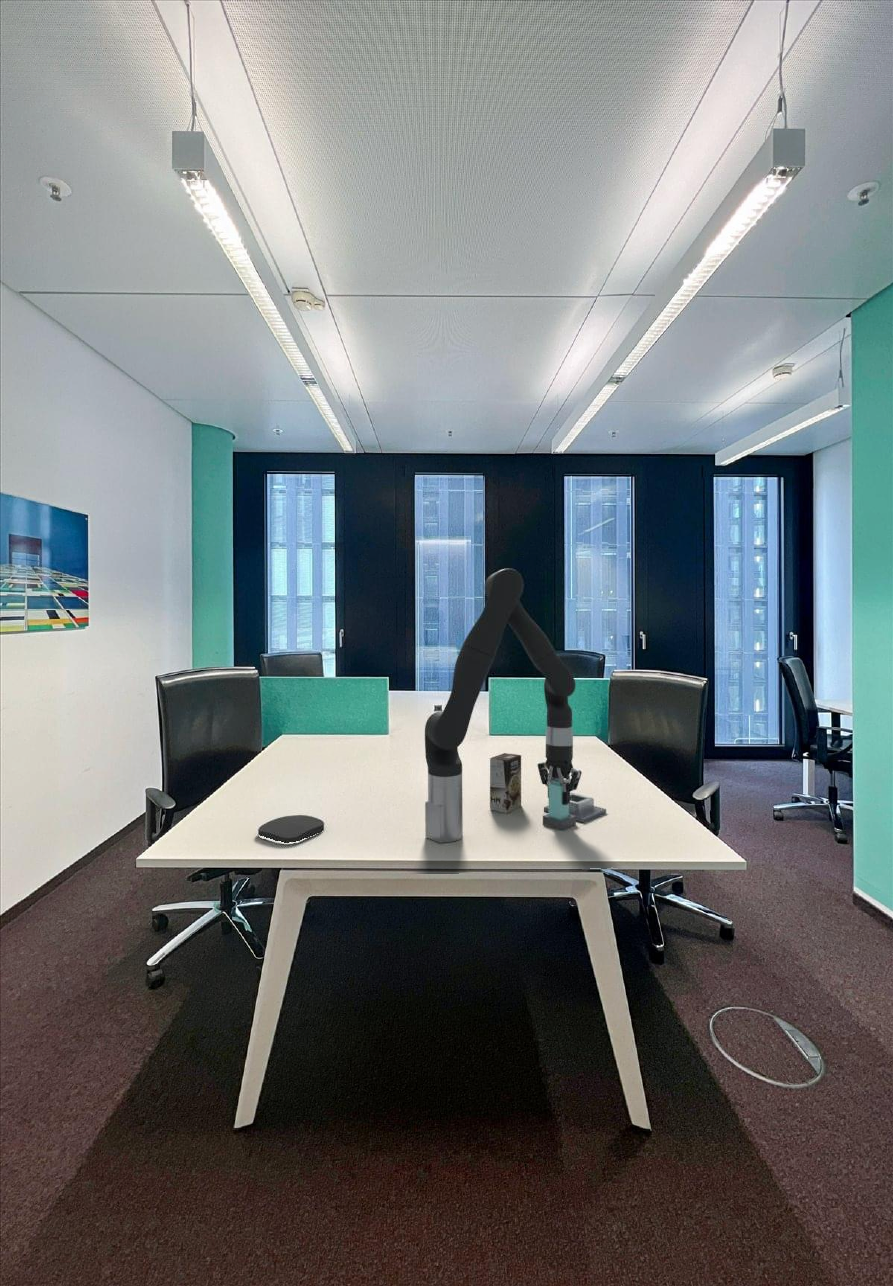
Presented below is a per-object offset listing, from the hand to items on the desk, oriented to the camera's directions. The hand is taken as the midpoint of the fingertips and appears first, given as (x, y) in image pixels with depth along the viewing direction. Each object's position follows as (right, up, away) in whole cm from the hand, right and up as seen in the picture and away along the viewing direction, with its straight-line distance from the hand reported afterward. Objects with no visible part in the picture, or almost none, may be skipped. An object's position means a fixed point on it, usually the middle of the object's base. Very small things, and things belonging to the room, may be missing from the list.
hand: (558, 802), depth 152 cm
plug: (0, -5, 0) cm, 5 cm away
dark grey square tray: (0, -6, 0) cm, 6 cm away
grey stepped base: (+7, -6, +11) cm, 14 cm away
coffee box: (-13, -6, +15) cm, 21 cm away
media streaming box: (-74, -8, -4) cm, 75 cm away
